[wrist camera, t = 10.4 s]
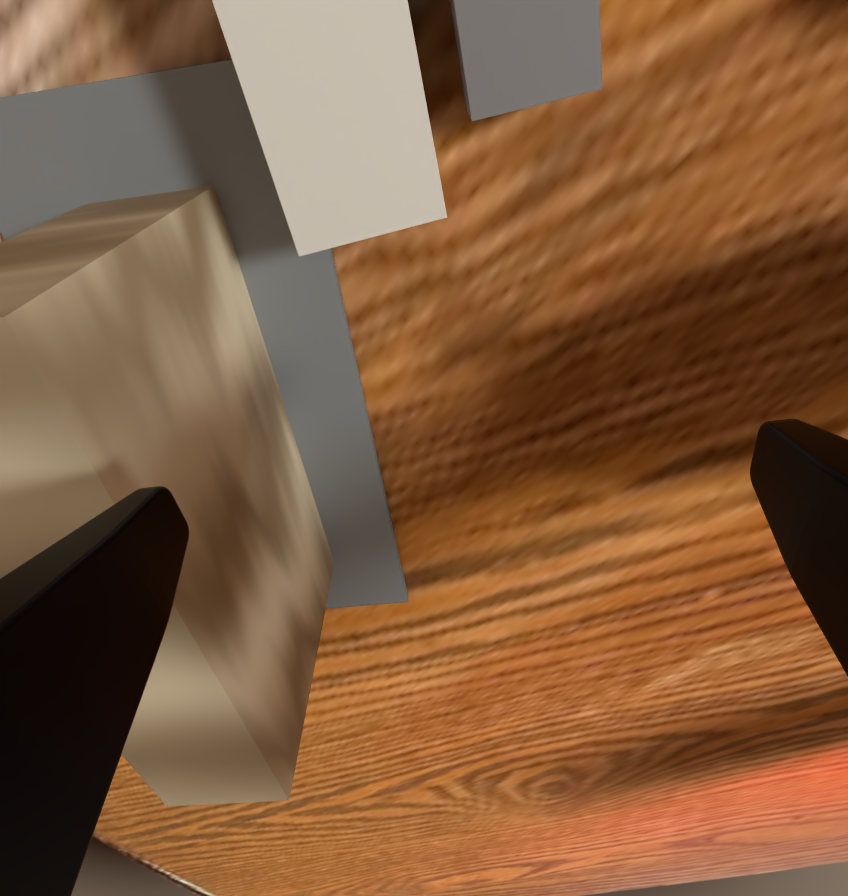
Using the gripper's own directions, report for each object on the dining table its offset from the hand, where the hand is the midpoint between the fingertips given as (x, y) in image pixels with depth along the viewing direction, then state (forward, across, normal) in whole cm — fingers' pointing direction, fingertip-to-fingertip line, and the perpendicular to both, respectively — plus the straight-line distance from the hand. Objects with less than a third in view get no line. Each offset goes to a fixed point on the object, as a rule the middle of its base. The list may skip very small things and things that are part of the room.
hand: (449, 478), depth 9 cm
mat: (+11, +9, +5) cm, 15 cm away
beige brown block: (+11, +9, +5) cm, 15 cm away
